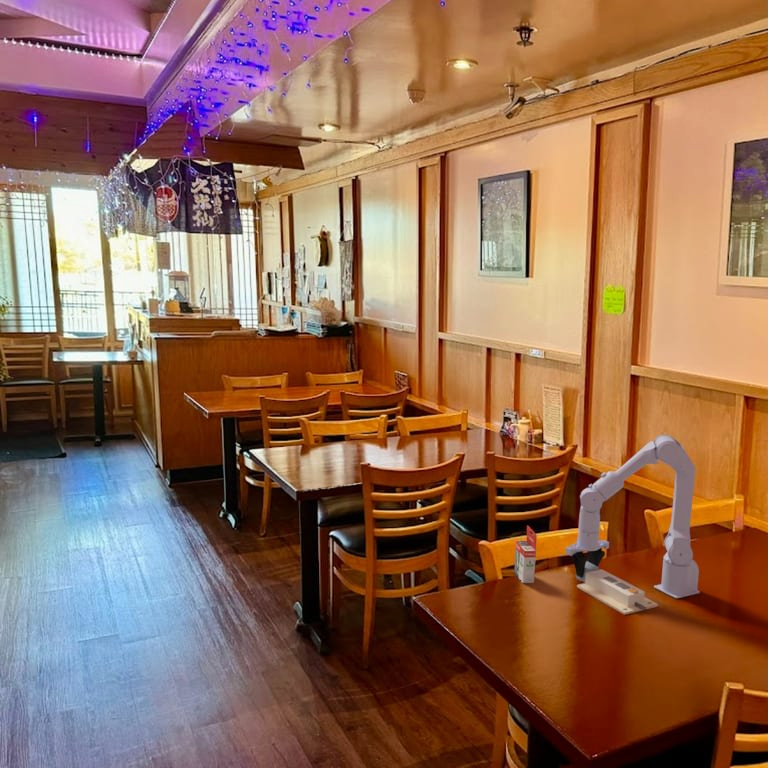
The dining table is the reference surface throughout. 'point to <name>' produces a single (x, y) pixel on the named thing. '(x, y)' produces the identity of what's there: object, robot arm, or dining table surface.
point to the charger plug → (587, 570)
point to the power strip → (615, 592)
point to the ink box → (526, 557)
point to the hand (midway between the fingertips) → (585, 574)
